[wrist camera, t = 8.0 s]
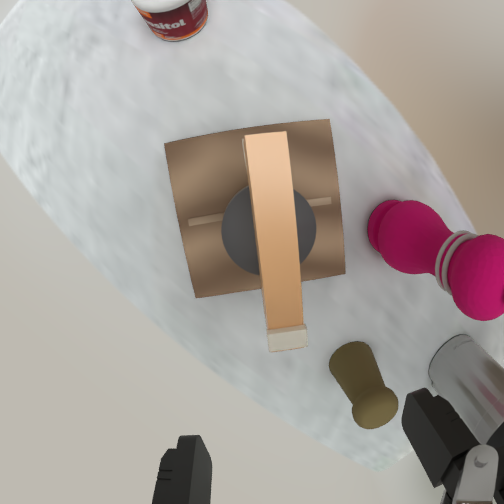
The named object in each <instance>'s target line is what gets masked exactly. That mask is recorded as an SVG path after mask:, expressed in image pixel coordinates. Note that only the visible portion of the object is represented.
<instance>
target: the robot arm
mask: <svg viewBox="0 0 504 504" xmlns="http://www.w3.org/2000/svg"><path fill="white" fill-rule="evenodd" d="M429 376H430V379H431V380H432V381H433V383H432V386H433V387H434V389H435V390H436V391H437V393H438V394H439V395H440V396H439V395H437V396H435V397H433V396H432V394H431V393H430V392H429V390H428V389H427V388H422V389H419V390H417V391H414V392H411V393H409V394H407V396H406V401H405V405H404V410H403V414H402V427H403V430H404V432H405V434H406V436H407V437H408V439H409V441H410V443H411V445H412V447H413V449H414V450H415V452H416V454H417V456H418V457H419V459H420V462H421V463H422V466H423V467H424V469H425V471H426V473H427V475H428V477H429V479H430V481H431V483H432V485H433V487H434V488H435V487H437V486H440V485H442V484H443V485H444V487H445V490H444V493H443V496H442V500H441V503H440V504H492V501H493V497H494V499H495V501H496V503H497V504H504V368H503V367H502V366H501V365H500V364H498V363H497V362H496V361H495V360H494V359H493V358H492V357H491V356H490V355H489V354H488V353H487V352H486V351H485V350H484V349H483V348H482V347H480V346H479V345H478V344H477V343H476V342H475V341H474V340H473V339H471V338H470V337H469V336H468V335H459V336H456V337H454V338H452V339H451V340H449V341H448V342H447V343H446V344H445V345H443V346H442V348H441V349H440V350H439V351H438V352H437V354H436V355H435V357H434V358H433V360H432V362H431V365H430V368H429ZM211 480H212V461H211V457H210V455H209V453H208V451H207V449H206V447H205V445H204V443H203V440H202V438H201V436H200V435H187V436H180V437H179V439H178V443H177V449H168V450H167V451H166V453H165V454H164V456H163V457H162V458H161V462H160V467H159V472H158V476H157V481H156V486H155V491H154V495H153V500H152V504H210V498H211Z"/></svg>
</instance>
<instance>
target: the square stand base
mask: <svg viewBox="0 0 504 504" xmlns="http://www.w3.org/2000/svg"><path fill="white" fill-rule="evenodd" d="M282 131H286V133H287V141H288V149H289V157H290V166H291V175H292V185H293V189H294V190H296V191H297V192H298V193H300V194H301V195H302V196H303V197H304V198H305V199H306V200H307V202H308V203H309V205H310V206H311V208H312V210H313V213H314V216H315V219H316V238H315V242H314V245H313V247H312V250H311V251H310V253H309V255H308V256H307V257H306V259H305V260H304V261H303V262H302V263H301V264H300V276H301V282H303V281H308V280H314V279H320V278H325V277H331V276H336V275H342V274H345V255H344V239H343V226H342V214H341V204H340V194H339V185H338V176H337V168H336V160H335V152H334V145H333V138H332V132H331V125H330V119H324V120H311V121H300V122H290V123H281V124H272V125H264V126H257V127H250V128H243V129H237V130H230V131H224V132H219V133H213V134H208V135H202V136H197V137H192V138H187V139H183V140H178V141H174V142H169V143H165V144H164V146H165V152H166V158H167V164H168V169H169V175H170V181H171V186H172V191H173V197H174V202H175V207H176V212H177V217H178V222H179V227H180V232H181V236H182V241H183V246H184V250H185V255H186V259H187V263H188V268H189V272H190V276H191V281H192V285H193V289H194V293H195V297H196V298H202V297H209V296H215V295H222V294H229V293H235V292H242V291H248V290H255V289H261V280H260V275H255V274H252V273H249V272H247V271H245V270H244V269H242V268H240V267H239V266H238V265H237V264H235V262H234V261H233V260H232V259H231V258H230V256H229V255H228V253H227V251H226V250H225V247H224V244H223V241H222V234H221V227H222V220H223V216H224V213H225V210H226V208H227V206H228V204H229V202H230V200H231V199H232V198H233V197H234V195H235V194H236V193H238V192H239V191H240V190H241V189H243V188H244V187H246V186H248V185H249V183H248V175H247V167H246V160H245V152H244V144H243V142H244V136H245V135H252V134H261V133H271V132H282Z"/></svg>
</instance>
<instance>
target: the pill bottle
mask: <svg viewBox="0 0 504 504" xmlns="http://www.w3.org/2000/svg"><path fill="white" fill-rule="evenodd" d="M131 1H132V3H133V4H134V6H135V7H136V8H137V10H138V11H139V13H140V14H141V16H142V17H143V18H144V20H145V21H146V23H147V24H148V26H149V27H150V29H151V30H152V31H153V33H154V34H155V35H156V36H158V37H159V38H161V39H164V40H167V41H179V40H184V39H187V38H189V37H192V36H193V35H195V34H197V33H198V32H199V31H200V30H201V29H202V28H203V26H204V25H205V23H206V21H207V17H208V10H207V4H206V0H131Z"/></svg>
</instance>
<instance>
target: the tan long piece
mask: <svg viewBox="0 0 504 504" xmlns="http://www.w3.org/2000/svg"><path fill="white" fill-rule="evenodd" d="M243 144H244V152H245V160H246V167H247V175H248V183H249V185H248V186H246V187H244V188H243V189H241V190H240V191H239V192H238V193H236V194H235V195H234V197H233V198H232V199H231V200H230V202H229V204H228V206H227V208H226V210H225V213H224V216H223V220H222V227H221V234H222V241H223V244H224V247H225V250H226V251H227V253H228V255H229V256H230V258H231V259H232V260H233V261H234V262H235V264H237V265H238V266H239V267H240V268H242V269H244V270H245V271H247V272H249V273H252V274H255V275H260V280H261V288H262V297H263V305H264V313H265V319H266V325H267V337H268V346H269V352H277V351H284V350H291V349H298V348H304V347H307V346H308V341H307V328H306V325H305V324H303V307H302V290H301V276H300V264H301V263H302V262H303V261H304V260H305V259H306V257H307V256H308V255H309V253H310V251H311V250H312V247H313V245H314V242H315V238H316V219H315V216H314V213H313V210H312V208H311V206H310V205H309V203H308V202H307V200H306V199H305V198H304V197H303V196H302V195H301V194H300V193H298V192H297V191H296V190H294V189H293V185H292V175H291V166H290V157H289V149H288V141H287V133H286V131H282V132H271V133H261V134H252V135H245V136H244V142H243Z"/></svg>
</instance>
